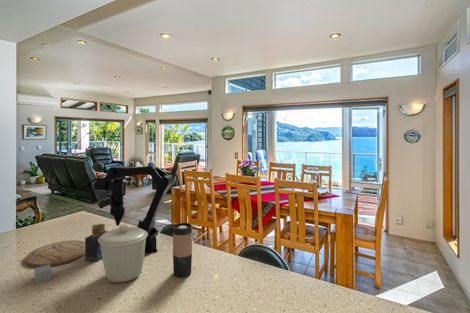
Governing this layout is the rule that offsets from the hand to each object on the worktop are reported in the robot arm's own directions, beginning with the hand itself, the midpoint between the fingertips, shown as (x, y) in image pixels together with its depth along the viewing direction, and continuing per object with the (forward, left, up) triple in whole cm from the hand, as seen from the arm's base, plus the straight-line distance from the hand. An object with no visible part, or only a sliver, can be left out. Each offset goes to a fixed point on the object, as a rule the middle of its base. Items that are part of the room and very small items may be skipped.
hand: (117, 222), depth 127 cm
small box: (+8, +6, -13) cm, 17 cm away
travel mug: (-24, +36, -13) cm, 45 cm away
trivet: (+25, -4, -14) cm, 29 cm away
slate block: (+27, +18, -13) cm, 35 cm away
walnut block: (+8, +6, -3) cm, 10 cm away
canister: (-2, +29, -13) cm, 32 cm away
